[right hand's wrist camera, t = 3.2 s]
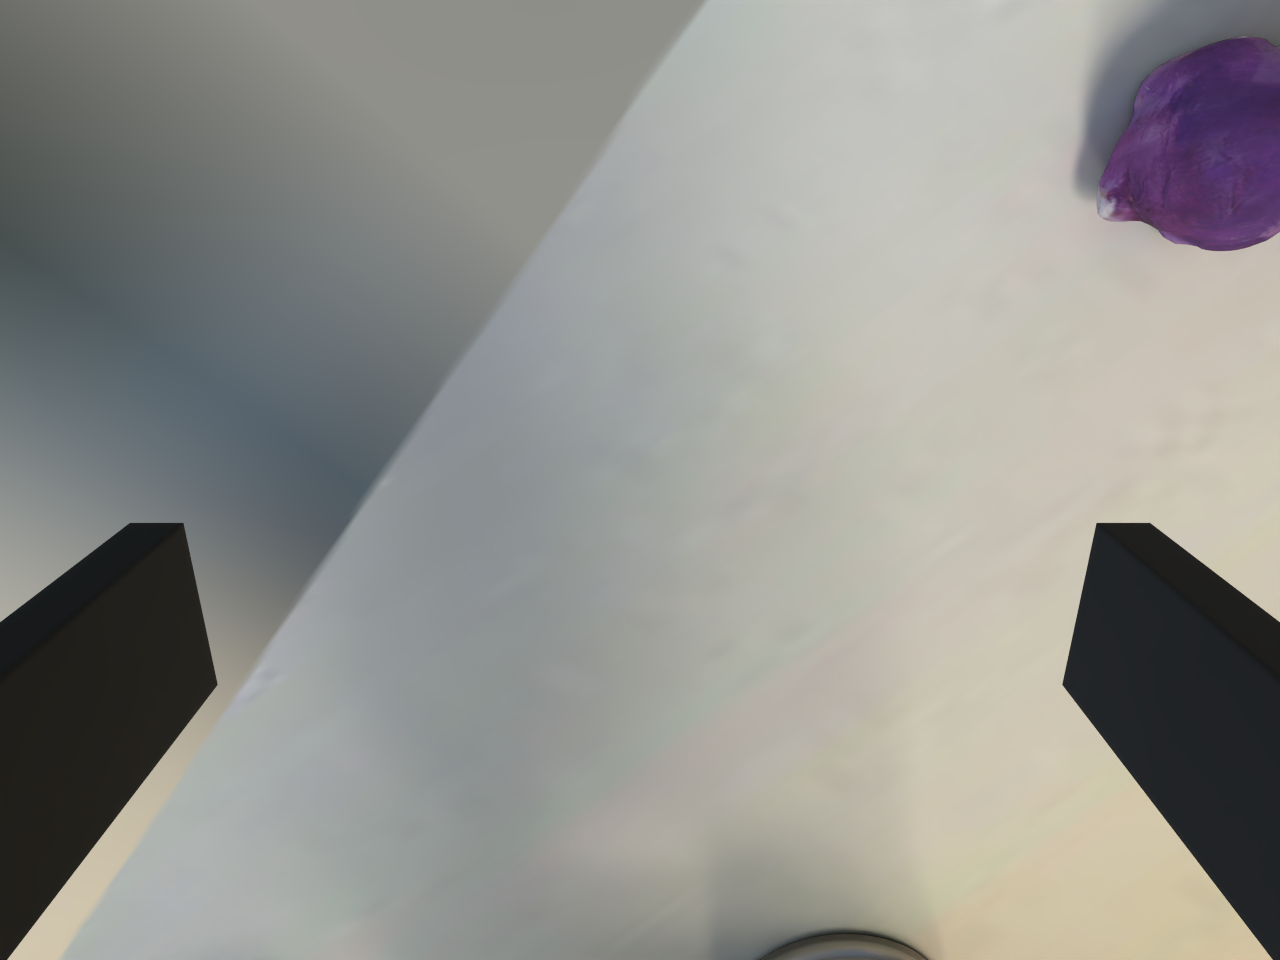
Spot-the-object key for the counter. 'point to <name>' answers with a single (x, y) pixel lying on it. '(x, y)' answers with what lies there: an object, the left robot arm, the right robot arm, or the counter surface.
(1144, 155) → the figurine
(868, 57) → the counter surface
